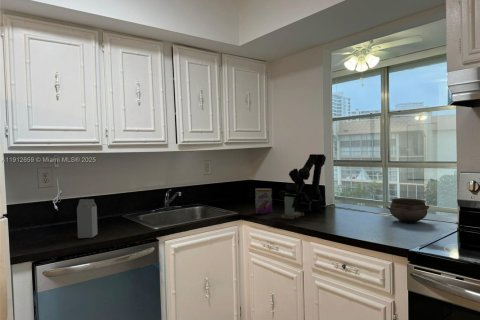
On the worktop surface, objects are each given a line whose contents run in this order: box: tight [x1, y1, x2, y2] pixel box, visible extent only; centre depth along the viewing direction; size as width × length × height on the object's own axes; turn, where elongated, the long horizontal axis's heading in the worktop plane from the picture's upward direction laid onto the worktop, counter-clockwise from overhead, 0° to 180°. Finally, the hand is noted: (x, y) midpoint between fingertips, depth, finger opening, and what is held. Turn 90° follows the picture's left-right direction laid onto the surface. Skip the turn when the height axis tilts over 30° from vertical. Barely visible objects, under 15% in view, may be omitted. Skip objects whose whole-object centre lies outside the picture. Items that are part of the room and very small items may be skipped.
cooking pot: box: [386, 197, 430, 224], centre depth 181 cm, size 25×19×12 cm
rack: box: [281, 211, 305, 220], centre depth 198 cm, size 13×8×2 cm, turn 138°
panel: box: [284, 197, 295, 216], centre depth 195 cm, size 2×6×12 cm, turn 48°
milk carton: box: [76, 198, 98, 239], centre depth 164 cm, size 7×7×19 cm
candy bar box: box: [254, 188, 273, 215], centre depth 214 cm, size 11×5×16 cm, turn 84°
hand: (288, 207), depth 194 cm, fingers closed on panel, 5 cm apart
